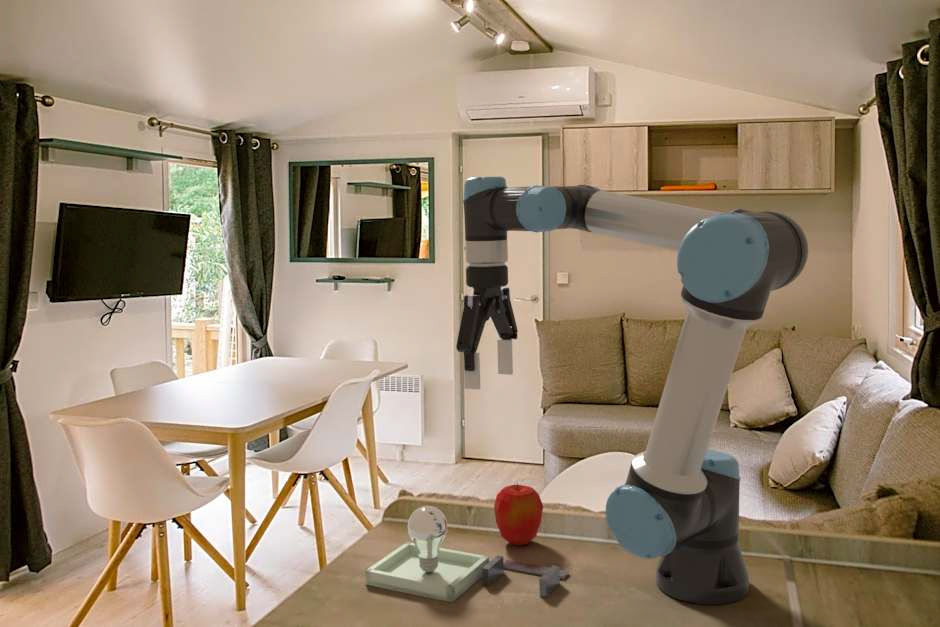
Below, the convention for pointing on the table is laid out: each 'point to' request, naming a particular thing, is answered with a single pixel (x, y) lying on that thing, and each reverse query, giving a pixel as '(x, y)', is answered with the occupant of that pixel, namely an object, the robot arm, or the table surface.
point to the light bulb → (427, 535)
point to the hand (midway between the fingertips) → (489, 381)
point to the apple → (518, 513)
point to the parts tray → (409, 578)
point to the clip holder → (546, 582)
